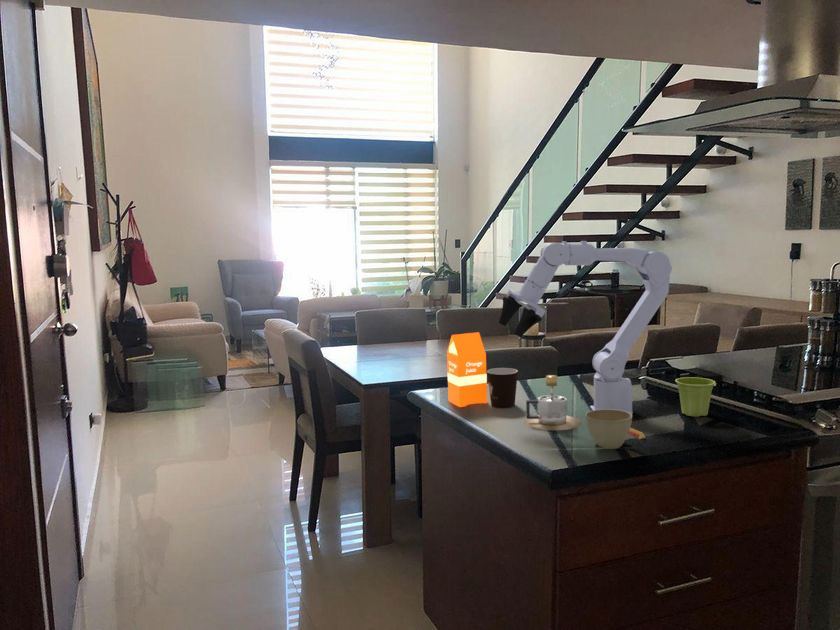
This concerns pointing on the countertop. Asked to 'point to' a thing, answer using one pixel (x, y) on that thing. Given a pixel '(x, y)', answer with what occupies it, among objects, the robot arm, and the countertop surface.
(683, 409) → the plant pot
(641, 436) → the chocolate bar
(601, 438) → the beige bowl
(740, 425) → the countertop surface
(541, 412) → the press carafe
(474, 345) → the orange juice
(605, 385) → the robot arm
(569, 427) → the cork mat
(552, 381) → the plunger
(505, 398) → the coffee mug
